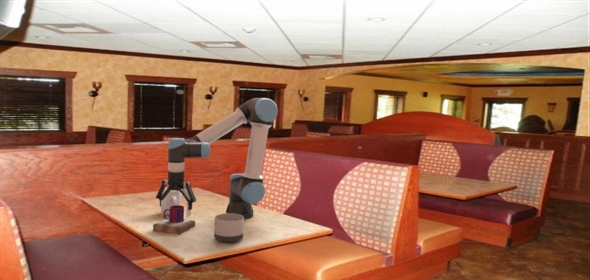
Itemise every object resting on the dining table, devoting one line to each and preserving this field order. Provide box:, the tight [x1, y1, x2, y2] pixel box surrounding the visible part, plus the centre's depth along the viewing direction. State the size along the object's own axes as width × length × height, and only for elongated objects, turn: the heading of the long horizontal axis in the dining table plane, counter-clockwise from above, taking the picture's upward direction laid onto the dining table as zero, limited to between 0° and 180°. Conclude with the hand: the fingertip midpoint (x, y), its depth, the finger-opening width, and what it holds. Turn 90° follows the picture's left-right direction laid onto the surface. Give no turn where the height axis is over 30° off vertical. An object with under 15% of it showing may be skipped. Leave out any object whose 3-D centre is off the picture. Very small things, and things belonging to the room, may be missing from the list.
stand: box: [152, 217, 196, 236], centre depth 202 cm, size 14×14×4 cm
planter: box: [213, 212, 245, 244], centre depth 190 cm, size 13×13×10 cm
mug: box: [161, 187, 182, 215], centre depth 227 cm, size 15×11×13 cm
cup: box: [162, 204, 185, 223], centre depth 202 cm, size 7×10×7 cm
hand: (175, 214), depth 202 cm, fingers open, 13 cm apart
